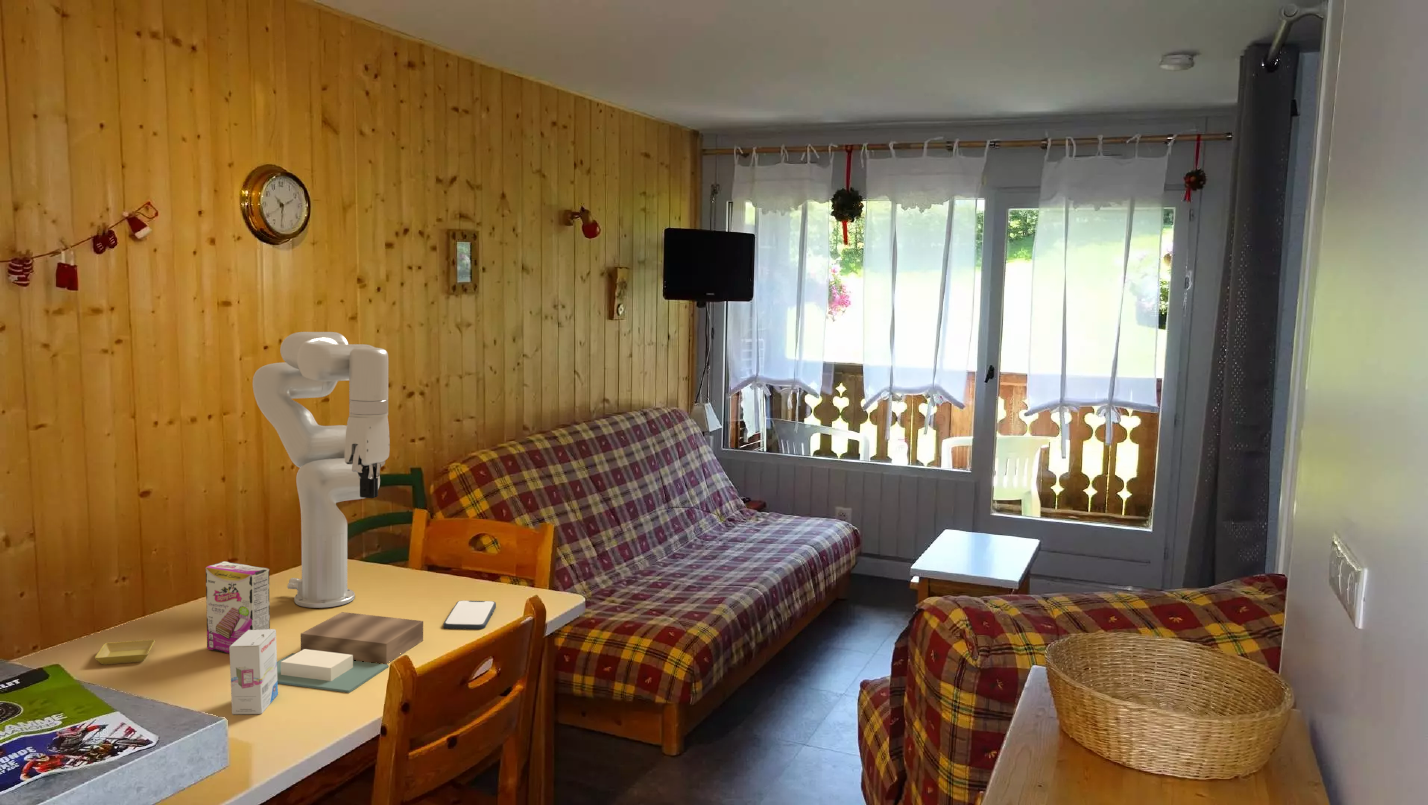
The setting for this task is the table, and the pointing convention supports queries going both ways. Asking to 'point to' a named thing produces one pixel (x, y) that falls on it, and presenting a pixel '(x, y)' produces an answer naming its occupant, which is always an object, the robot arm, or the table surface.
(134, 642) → the yellow square dish
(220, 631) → the candy bar box
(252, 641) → the ink box
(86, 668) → the table surface
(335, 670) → the tile
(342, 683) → the mat
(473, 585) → the table surface
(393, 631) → the block
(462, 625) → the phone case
